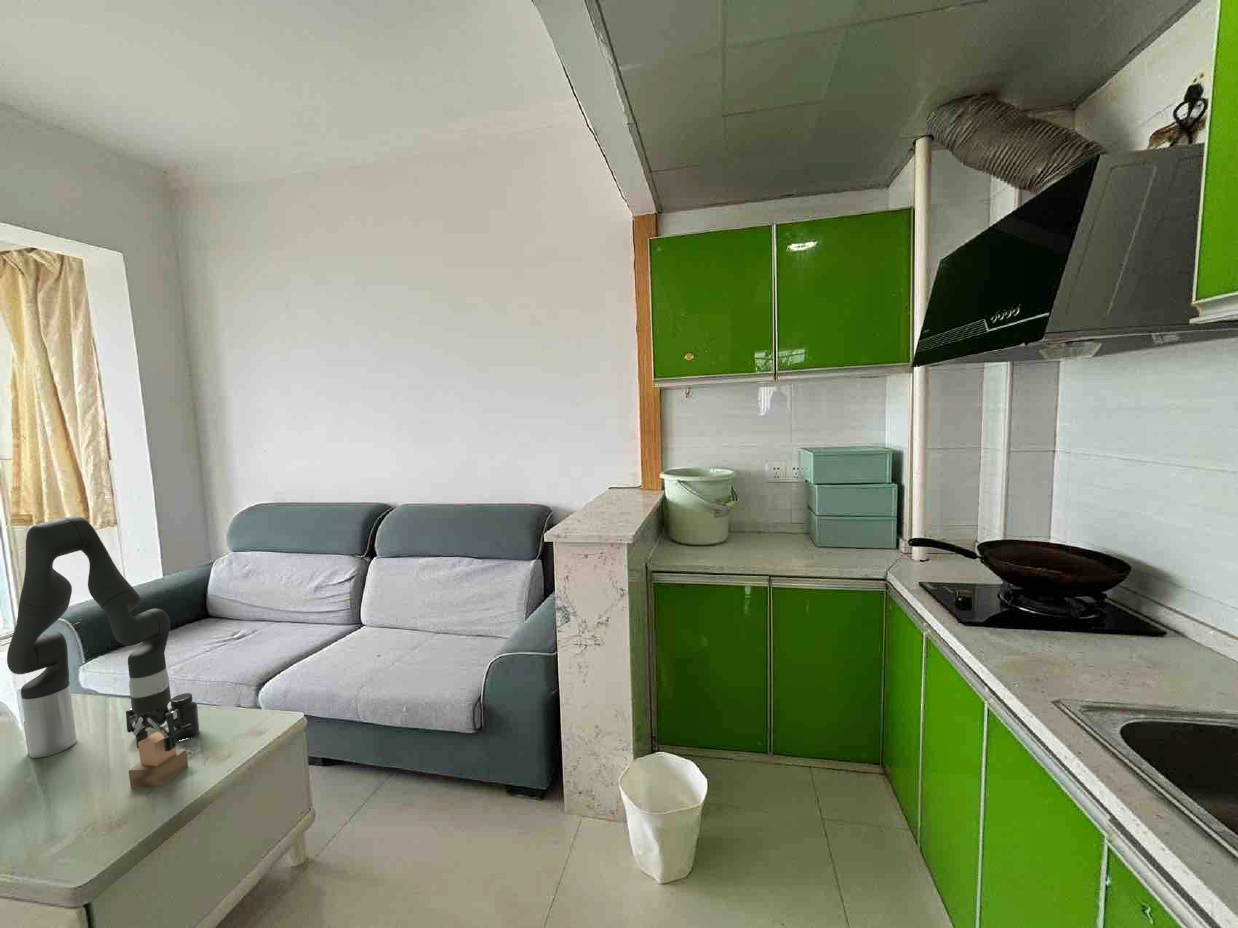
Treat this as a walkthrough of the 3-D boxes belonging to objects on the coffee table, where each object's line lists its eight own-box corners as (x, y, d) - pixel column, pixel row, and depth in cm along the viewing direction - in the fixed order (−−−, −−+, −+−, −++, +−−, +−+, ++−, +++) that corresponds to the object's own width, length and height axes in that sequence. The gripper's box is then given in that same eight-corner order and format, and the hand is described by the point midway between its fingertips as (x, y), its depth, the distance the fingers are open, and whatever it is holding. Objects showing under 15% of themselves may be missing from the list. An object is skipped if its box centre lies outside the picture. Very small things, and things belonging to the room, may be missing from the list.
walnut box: (130, 788, 132) (128, 770, 132) (157, 767, 140) (155, 750, 140) (162, 787, 132) (160, 768, 132) (188, 766, 140) (186, 748, 140)
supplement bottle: (182, 744, 150) (178, 704, 149) (163, 742, 151) (159, 702, 150) (205, 730, 157) (201, 691, 155) (187, 728, 158) (183, 690, 157)
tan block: (140, 764, 134) (138, 742, 133) (161, 751, 139) (158, 730, 138) (156, 766, 133) (154, 744, 132) (176, 753, 138) (174, 732, 137)
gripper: (110, 694, 132) (118, 755, 133) (158, 698, 129) (165, 759, 131) (142, 679, 139) (149, 737, 140) (187, 682, 137) (194, 741, 138)
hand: (156, 748), depth 136 cm, fingers open, 8 cm apart
